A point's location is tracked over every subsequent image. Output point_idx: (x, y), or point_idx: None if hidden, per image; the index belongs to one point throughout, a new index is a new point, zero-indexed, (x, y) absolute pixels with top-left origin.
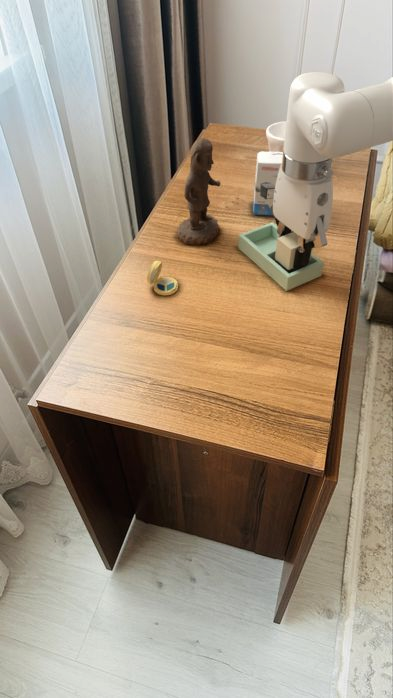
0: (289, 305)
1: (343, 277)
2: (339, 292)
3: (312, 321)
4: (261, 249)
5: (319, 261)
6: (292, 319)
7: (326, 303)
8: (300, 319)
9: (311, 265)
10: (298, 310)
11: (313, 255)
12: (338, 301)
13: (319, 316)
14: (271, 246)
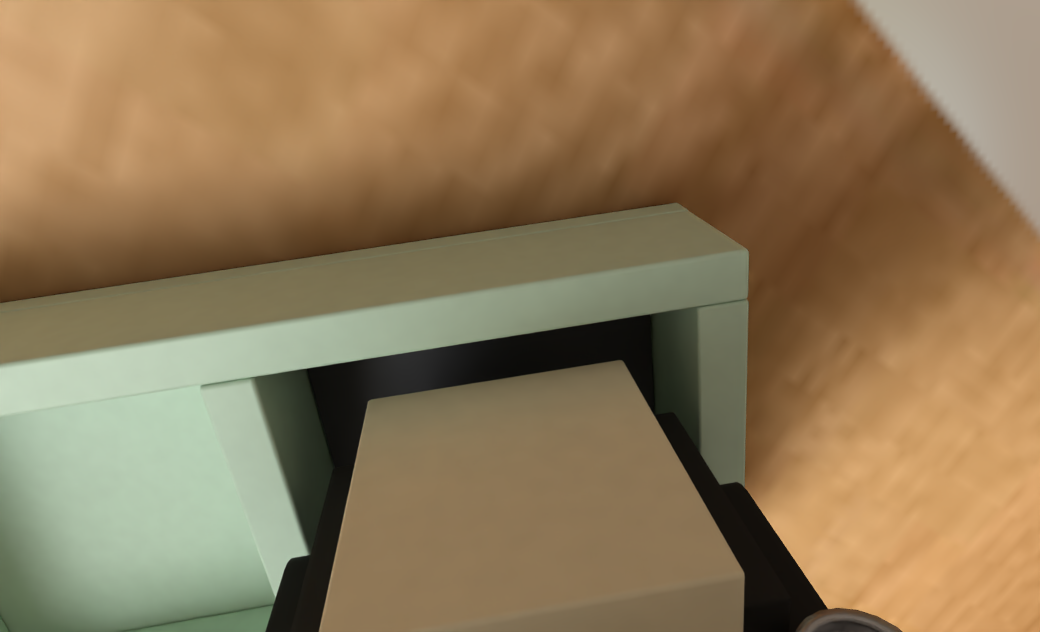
0: (812, 570)
1: (814, 2)
2: (940, 179)
3: (1012, 510)
4: (115, 541)
5: (709, 292)
6: (918, 599)
7: (959, 348)
8: (950, 562)
9: (716, 403)
10: (883, 541)
11: (579, 299)
12: (1006, 252)
13: (1013, 453)
14: (85, 446)
